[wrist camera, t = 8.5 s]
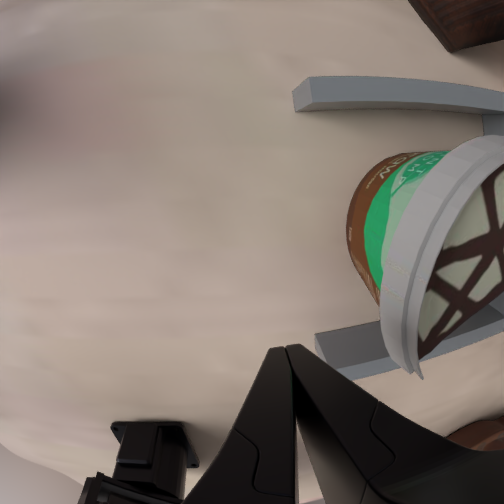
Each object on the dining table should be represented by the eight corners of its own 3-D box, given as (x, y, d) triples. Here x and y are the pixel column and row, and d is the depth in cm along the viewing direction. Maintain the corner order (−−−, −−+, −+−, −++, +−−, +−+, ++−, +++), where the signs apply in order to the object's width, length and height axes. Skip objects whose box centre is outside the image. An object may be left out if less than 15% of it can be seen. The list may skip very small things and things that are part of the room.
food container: (432, 99, 17) (552, 88, 7) (471, 178, 18) (582, 209, 9) (283, 209, 18) (338, 276, 9) (339, 286, 20) (411, 388, 11)
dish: (350, 482, 29) (361, 516, 24) (509, 371, 25) (533, 395, 21) (394, 509, 34) (403, 532, 29) (512, 427, 30) (528, 446, 26)
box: (483, 304, 22) (512, 327, 18) (315, 348, 21) (330, 385, 18) (490, 100, 17) (527, 98, 13) (292, 91, 16) (308, 76, 12)
